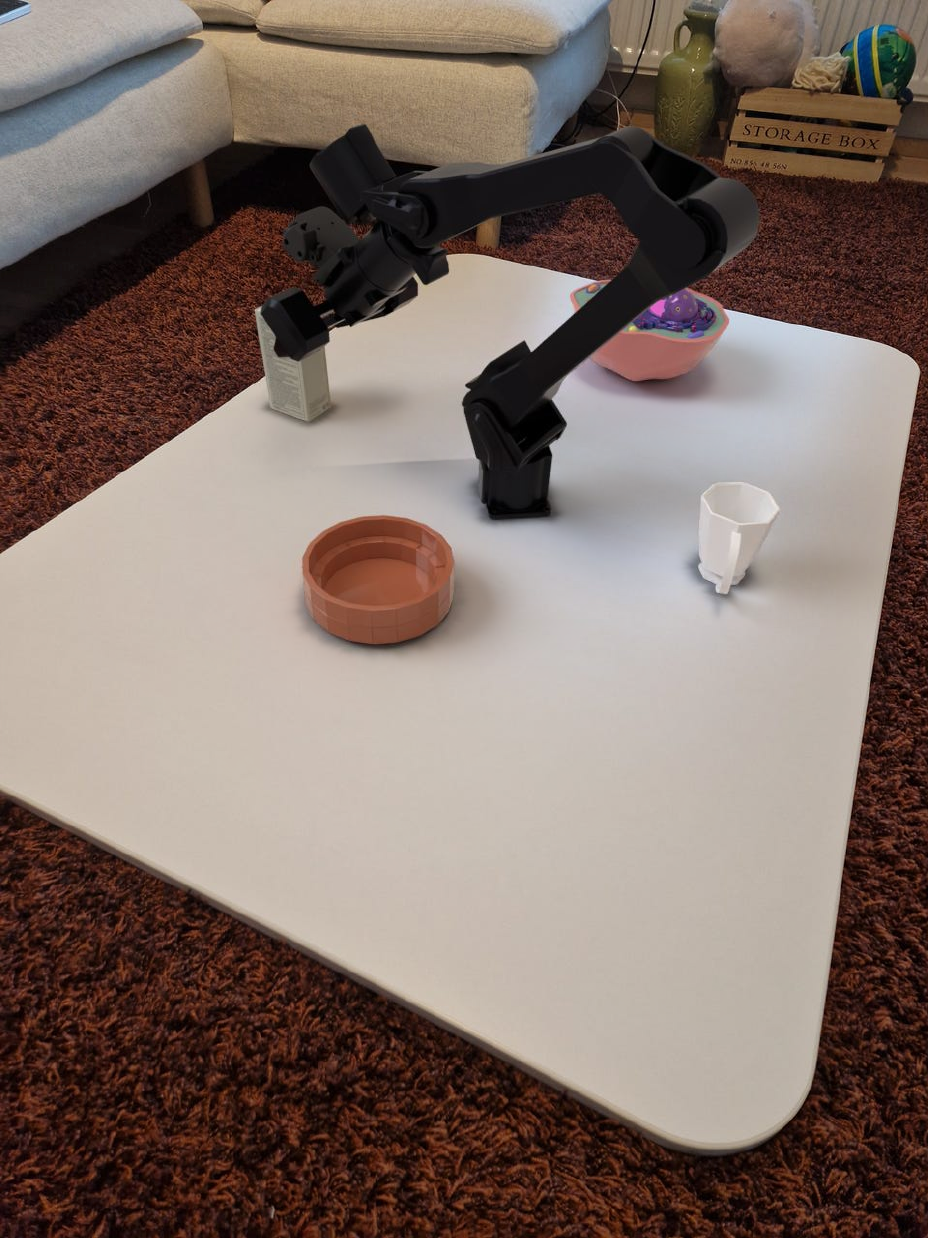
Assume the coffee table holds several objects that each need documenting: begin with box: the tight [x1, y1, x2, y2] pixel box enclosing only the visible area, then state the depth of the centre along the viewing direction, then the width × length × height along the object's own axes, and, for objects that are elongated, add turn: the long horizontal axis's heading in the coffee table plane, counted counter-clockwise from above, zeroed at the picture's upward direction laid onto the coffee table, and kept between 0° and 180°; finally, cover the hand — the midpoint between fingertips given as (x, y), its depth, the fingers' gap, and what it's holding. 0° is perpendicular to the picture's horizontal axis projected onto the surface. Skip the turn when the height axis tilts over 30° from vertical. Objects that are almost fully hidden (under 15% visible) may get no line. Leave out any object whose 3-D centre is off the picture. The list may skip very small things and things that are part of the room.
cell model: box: [569, 279, 730, 382], centre depth 114 cm, size 17×20×11 cm
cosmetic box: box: [254, 305, 332, 423], centre depth 104 cm, size 6×4×12 cm
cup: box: [697, 481, 782, 595], centre depth 84 cm, size 7×10×8 cm
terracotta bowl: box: [301, 514, 455, 645], centre depth 82 cm, size 13×13×4 cm
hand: (306, 337), depth 101 cm, fingers open, 9 cm apart
